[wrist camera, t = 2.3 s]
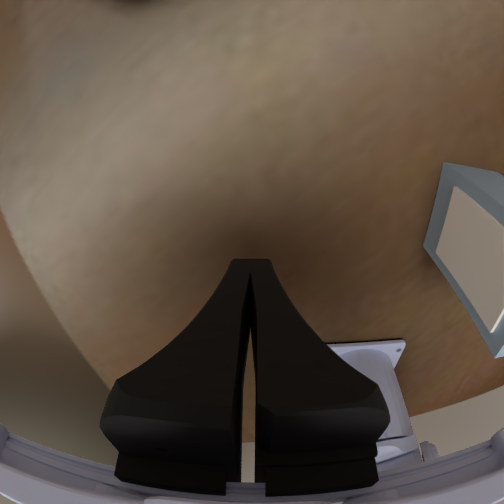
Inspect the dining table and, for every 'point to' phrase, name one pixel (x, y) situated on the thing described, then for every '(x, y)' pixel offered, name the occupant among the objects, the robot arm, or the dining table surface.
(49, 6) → the dining table surface
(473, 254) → the block
